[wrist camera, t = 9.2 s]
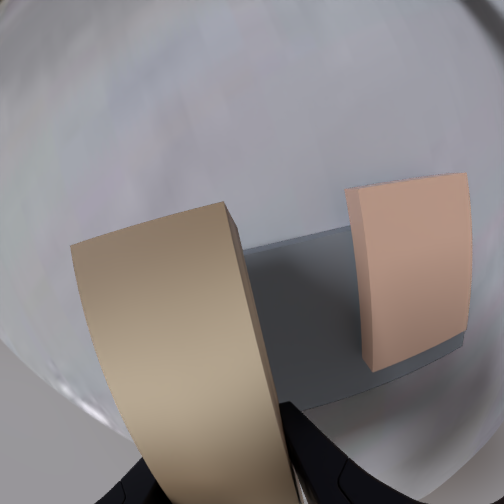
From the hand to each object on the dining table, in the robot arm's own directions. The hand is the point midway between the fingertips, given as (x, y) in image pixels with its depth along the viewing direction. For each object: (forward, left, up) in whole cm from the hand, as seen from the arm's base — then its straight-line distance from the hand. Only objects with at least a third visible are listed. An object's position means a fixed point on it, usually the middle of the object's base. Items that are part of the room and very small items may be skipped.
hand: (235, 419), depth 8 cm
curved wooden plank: (0, 0, -1) cm, 1 cm away
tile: (-9, -6, -3) cm, 11 cm away
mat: (-6, 0, -5) cm, 8 cm away
